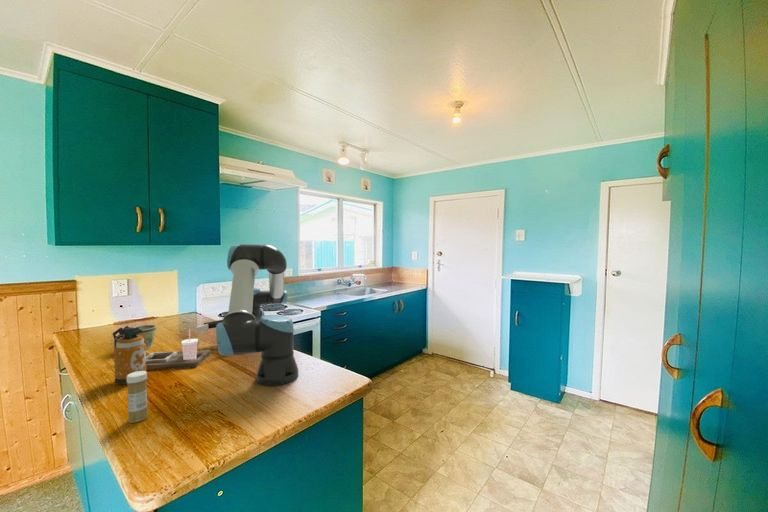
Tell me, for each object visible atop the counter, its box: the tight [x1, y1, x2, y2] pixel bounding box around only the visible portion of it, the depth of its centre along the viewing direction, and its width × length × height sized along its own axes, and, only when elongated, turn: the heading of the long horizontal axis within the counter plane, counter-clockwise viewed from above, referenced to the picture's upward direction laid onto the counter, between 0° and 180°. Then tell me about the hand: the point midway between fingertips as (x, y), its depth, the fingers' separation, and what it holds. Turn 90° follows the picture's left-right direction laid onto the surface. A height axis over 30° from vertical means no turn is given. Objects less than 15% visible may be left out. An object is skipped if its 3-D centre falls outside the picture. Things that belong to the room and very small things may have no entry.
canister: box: [112, 325, 147, 385], centre depth 113 cm, size 9×11×20 cm
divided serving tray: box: [146, 349, 212, 371], centre depth 131 cm, size 15×23×3 cm, turn 100°
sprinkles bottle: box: [126, 370, 149, 424], centre depth 88 cm, size 5×5×14 cm
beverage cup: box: [181, 328, 199, 360], centre depth 132 cm, size 6×6×14 cm
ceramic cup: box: [132, 324, 157, 350], centre depth 150 cm, size 13×10×10 cm
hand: (208, 331), depth 142 cm, fingers open, 13 cm apart
